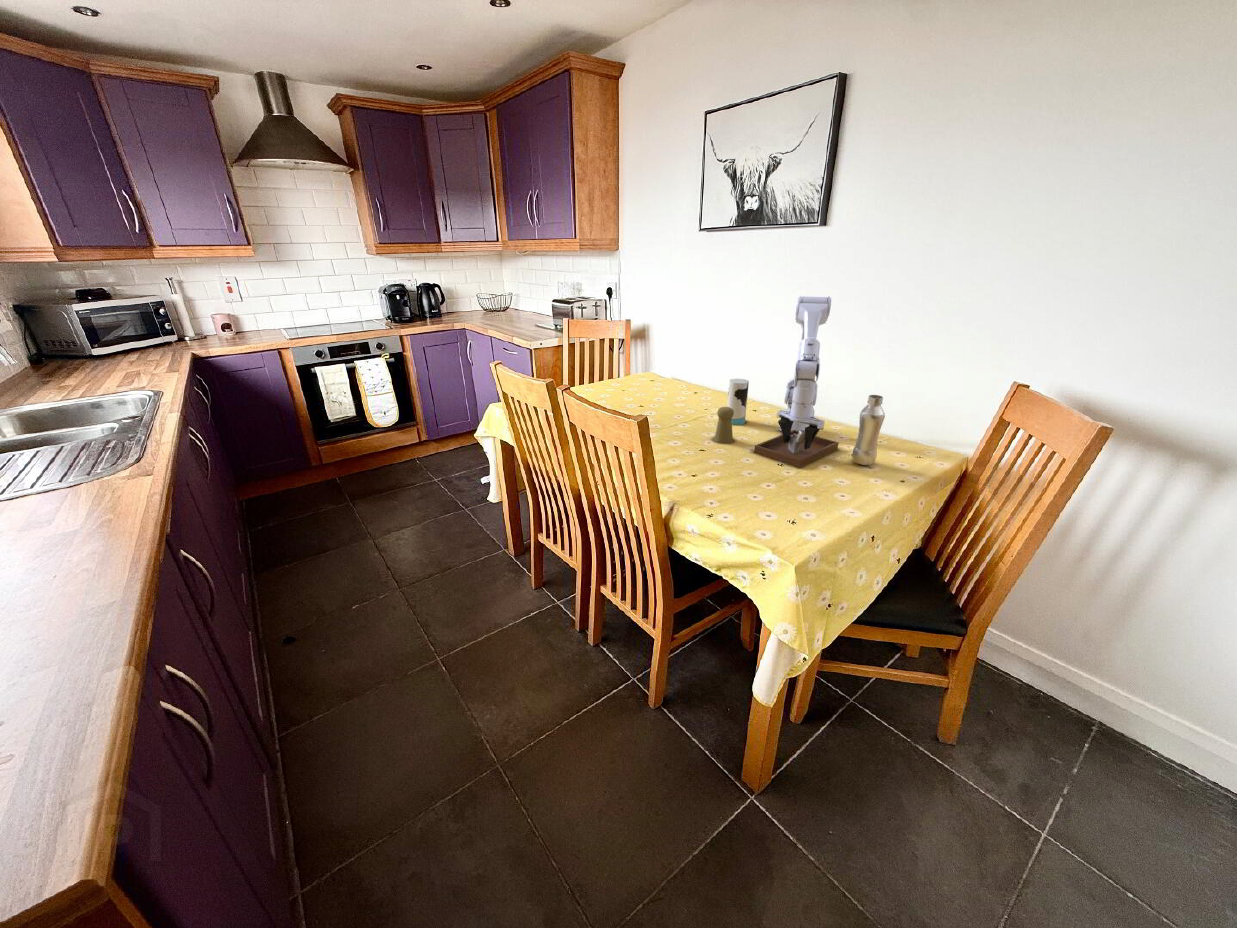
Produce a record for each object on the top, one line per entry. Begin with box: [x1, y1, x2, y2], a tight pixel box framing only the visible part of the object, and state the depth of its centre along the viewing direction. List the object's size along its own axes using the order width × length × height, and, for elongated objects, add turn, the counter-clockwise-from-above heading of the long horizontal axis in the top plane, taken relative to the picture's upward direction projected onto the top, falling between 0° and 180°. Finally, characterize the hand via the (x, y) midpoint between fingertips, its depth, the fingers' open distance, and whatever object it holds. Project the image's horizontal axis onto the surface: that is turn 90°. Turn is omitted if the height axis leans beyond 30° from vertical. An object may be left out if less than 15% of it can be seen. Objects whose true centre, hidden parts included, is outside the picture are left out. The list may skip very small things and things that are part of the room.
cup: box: [726, 378, 750, 426], centre depth 178 cm, size 7×7×15 cm
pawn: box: [713, 406, 734, 444], centre depth 162 cm, size 6×6×11 cm
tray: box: [753, 430, 839, 469], centre depth 154 cm, size 22×16×2 cm
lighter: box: [788, 430, 805, 453], centre depth 151 cm, size 7×2×8 cm, turn 6°
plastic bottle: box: [851, 394, 886, 466], centre depth 141 cm, size 6×7×20 cm
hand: (796, 445), depth 151 cm, fingers closed on lighter, 6 cm apart
